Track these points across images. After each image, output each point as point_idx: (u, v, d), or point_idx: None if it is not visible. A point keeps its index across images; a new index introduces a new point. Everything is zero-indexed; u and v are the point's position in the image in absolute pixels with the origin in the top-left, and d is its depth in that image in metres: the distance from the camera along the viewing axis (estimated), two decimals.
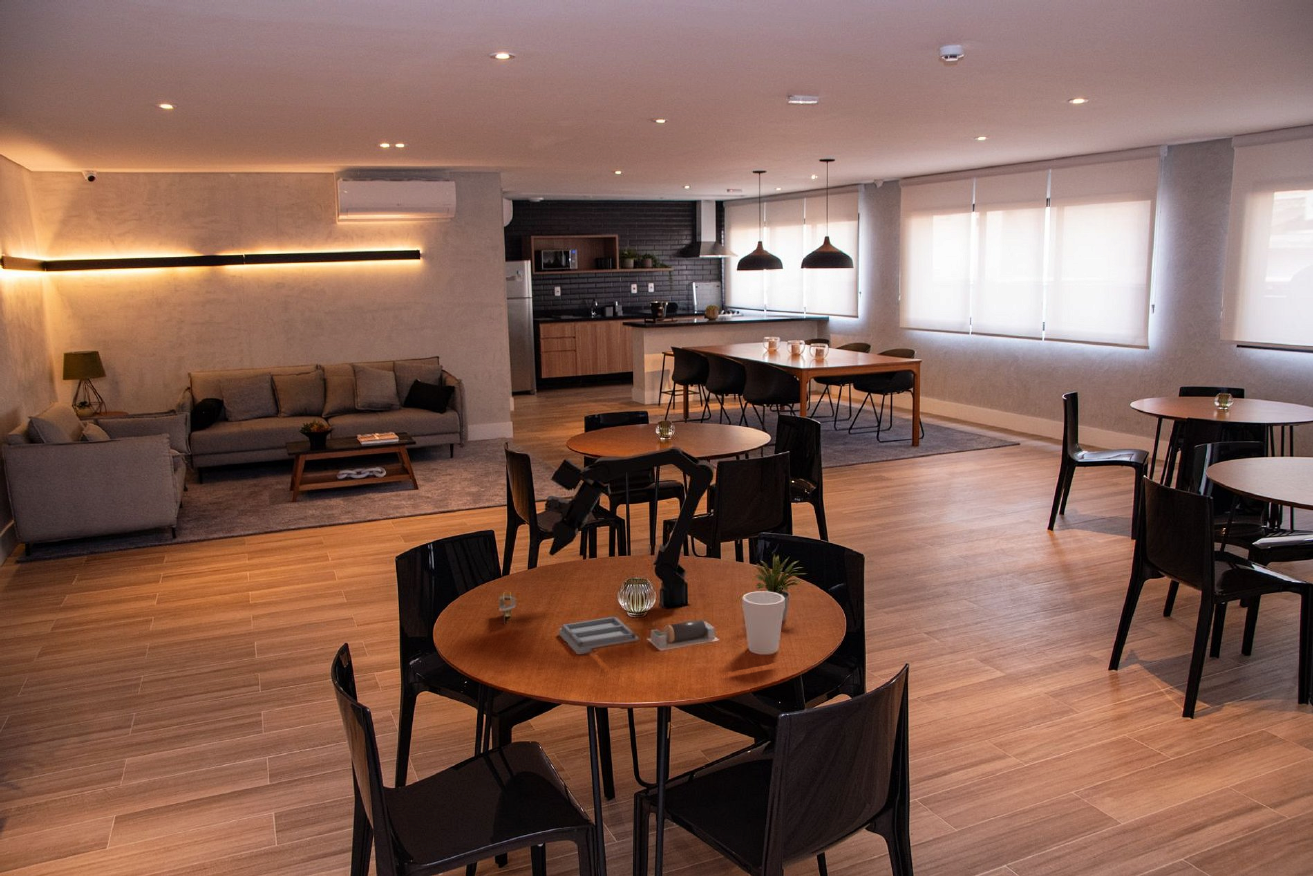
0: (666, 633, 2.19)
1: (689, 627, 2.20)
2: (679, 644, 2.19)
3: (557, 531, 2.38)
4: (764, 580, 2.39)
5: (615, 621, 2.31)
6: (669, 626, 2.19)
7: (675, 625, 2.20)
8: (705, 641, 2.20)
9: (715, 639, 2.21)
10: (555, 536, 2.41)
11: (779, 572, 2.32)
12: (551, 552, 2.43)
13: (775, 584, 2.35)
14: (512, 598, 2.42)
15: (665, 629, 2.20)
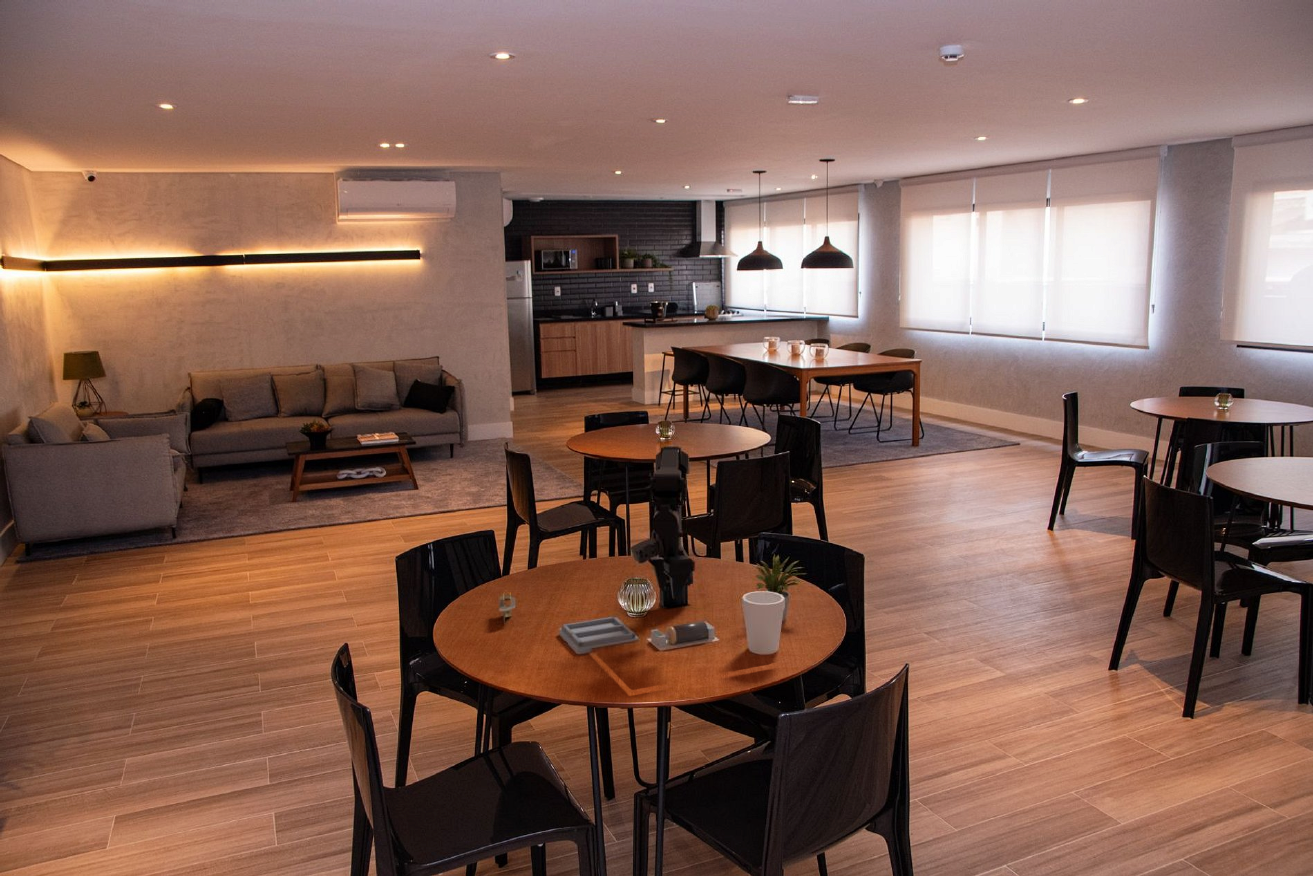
0: (668, 636, 2.18)
1: (692, 633, 2.19)
2: (679, 644, 2.19)
3: (676, 571, 2.10)
4: (764, 580, 2.39)
5: (615, 621, 2.31)
6: (672, 631, 2.18)
7: (679, 630, 2.18)
8: (705, 641, 2.20)
9: (715, 639, 2.21)
10: (672, 578, 2.13)
11: (779, 572, 2.32)
12: (675, 596, 2.15)
13: (775, 584, 2.35)
14: (512, 598, 2.42)
15: (668, 630, 2.19)
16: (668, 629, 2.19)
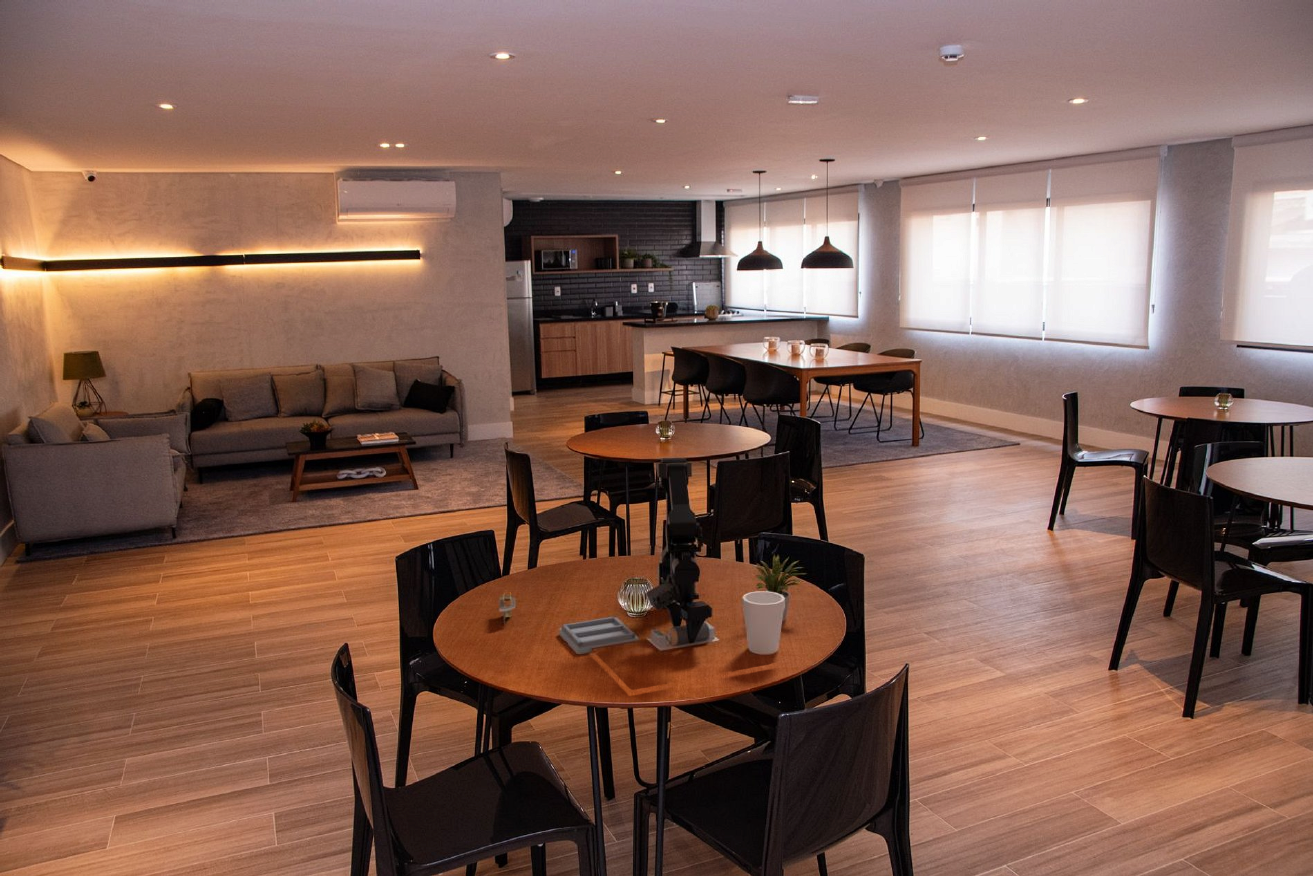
0: (669, 639, 2.17)
1: None
2: (679, 644, 2.19)
3: (695, 618, 2.12)
4: (764, 580, 2.39)
5: (615, 621, 2.31)
6: (675, 635, 2.17)
7: (681, 634, 2.17)
8: (705, 641, 2.20)
9: (715, 639, 2.21)
10: (689, 623, 2.15)
11: (779, 572, 2.32)
12: (691, 640, 2.17)
13: (775, 584, 2.35)
14: (512, 599, 2.41)
15: (670, 631, 2.18)
16: (670, 631, 2.18)
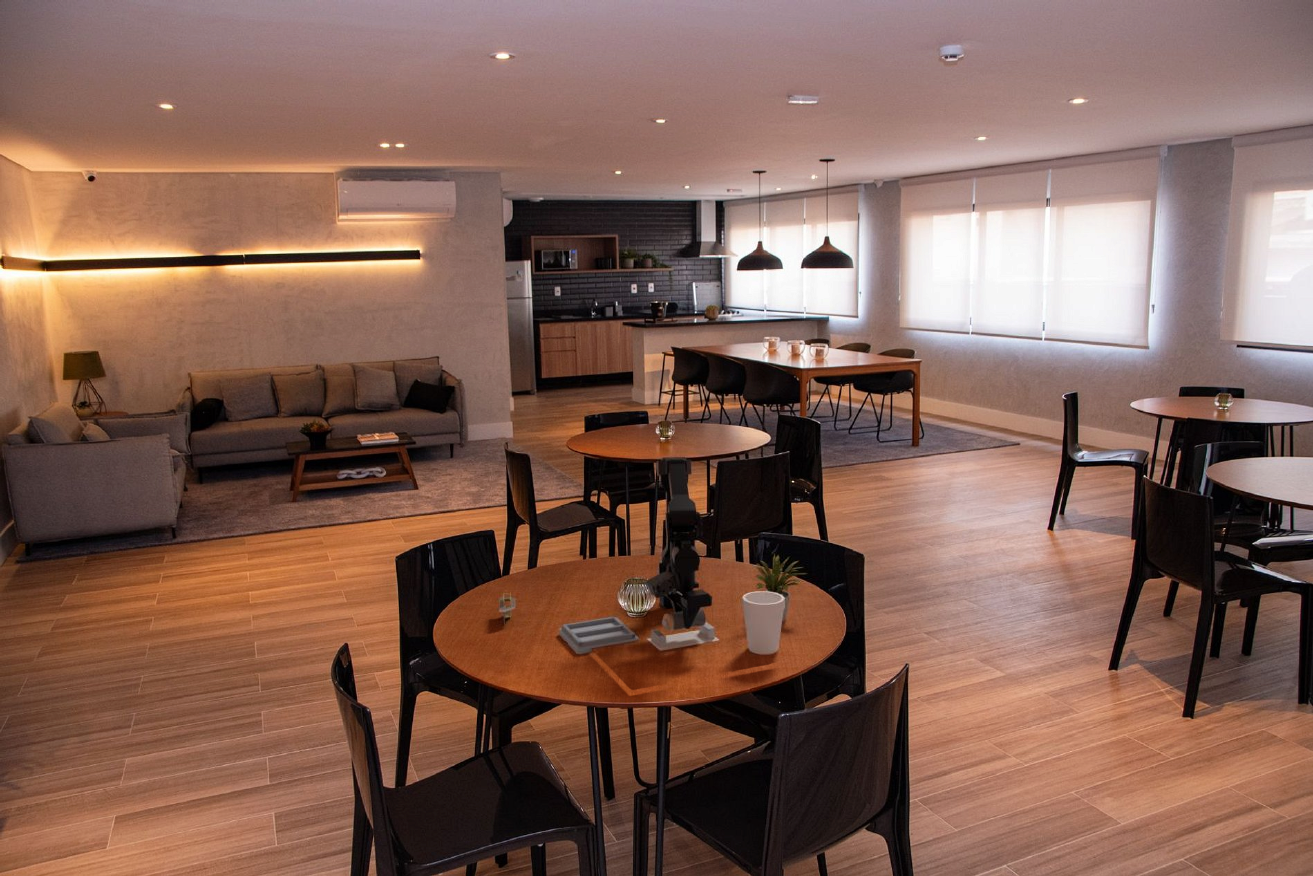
0: (665, 621, 2.19)
1: None
2: (679, 644, 2.19)
3: (694, 606, 2.11)
4: (764, 580, 2.39)
5: (615, 621, 2.31)
6: (668, 614, 2.19)
7: (674, 613, 2.20)
8: (705, 641, 2.20)
9: (715, 639, 2.21)
10: (685, 609, 2.16)
11: (779, 572, 2.32)
12: (687, 626, 2.19)
13: (775, 584, 2.35)
14: (512, 599, 2.41)
15: (664, 618, 2.20)
16: (664, 616, 2.20)
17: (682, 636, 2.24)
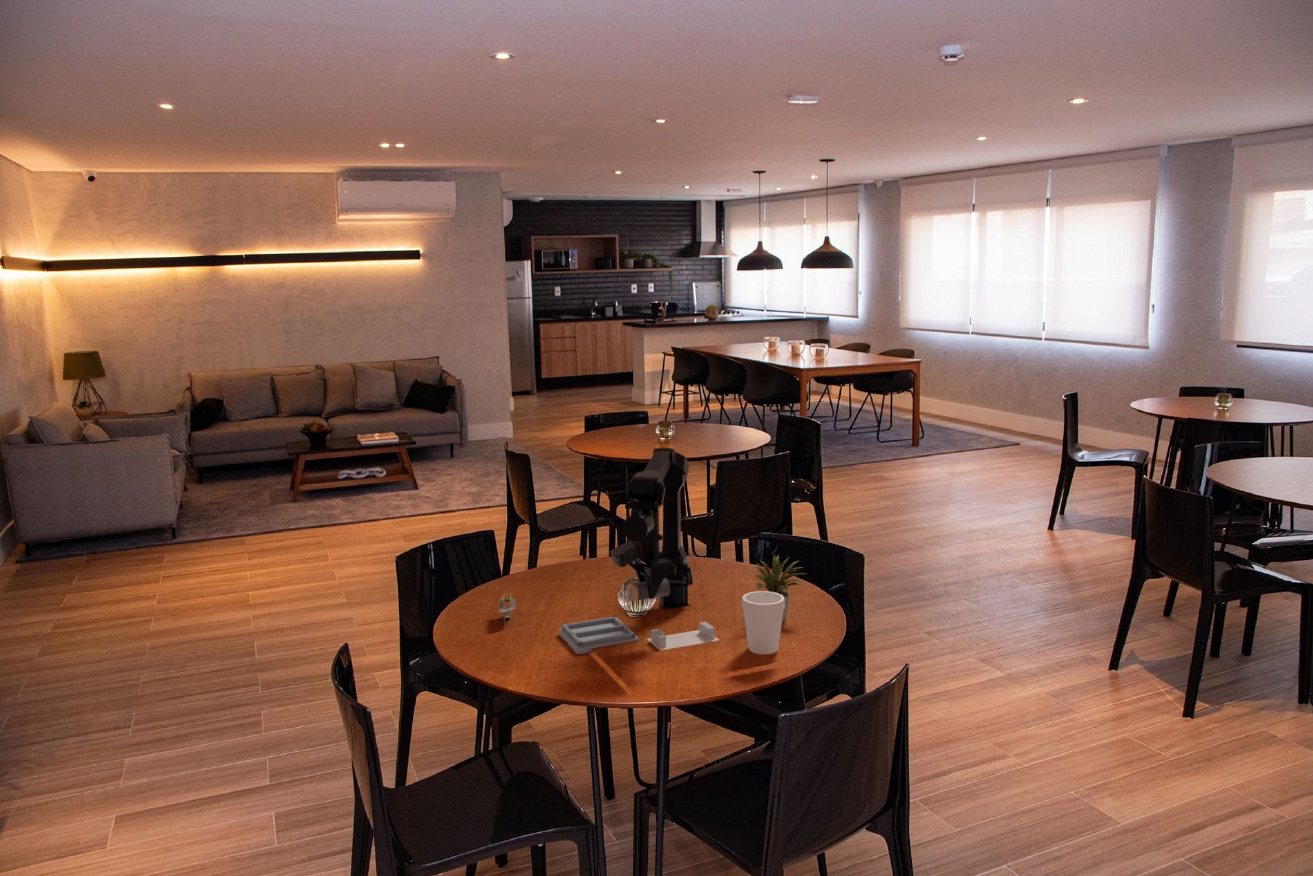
0: (630, 591, 2.18)
1: None
2: (679, 644, 2.19)
3: (658, 575, 2.10)
4: (764, 580, 2.39)
5: (615, 621, 2.31)
6: (632, 584, 2.18)
7: (638, 583, 2.19)
8: (705, 641, 2.20)
9: (715, 639, 2.21)
10: (649, 578, 2.15)
11: (779, 572, 2.32)
12: (652, 596, 2.18)
13: (775, 584, 2.35)
14: (512, 599, 2.41)
15: (629, 588, 2.19)
16: (629, 586, 2.19)
17: (682, 636, 2.24)
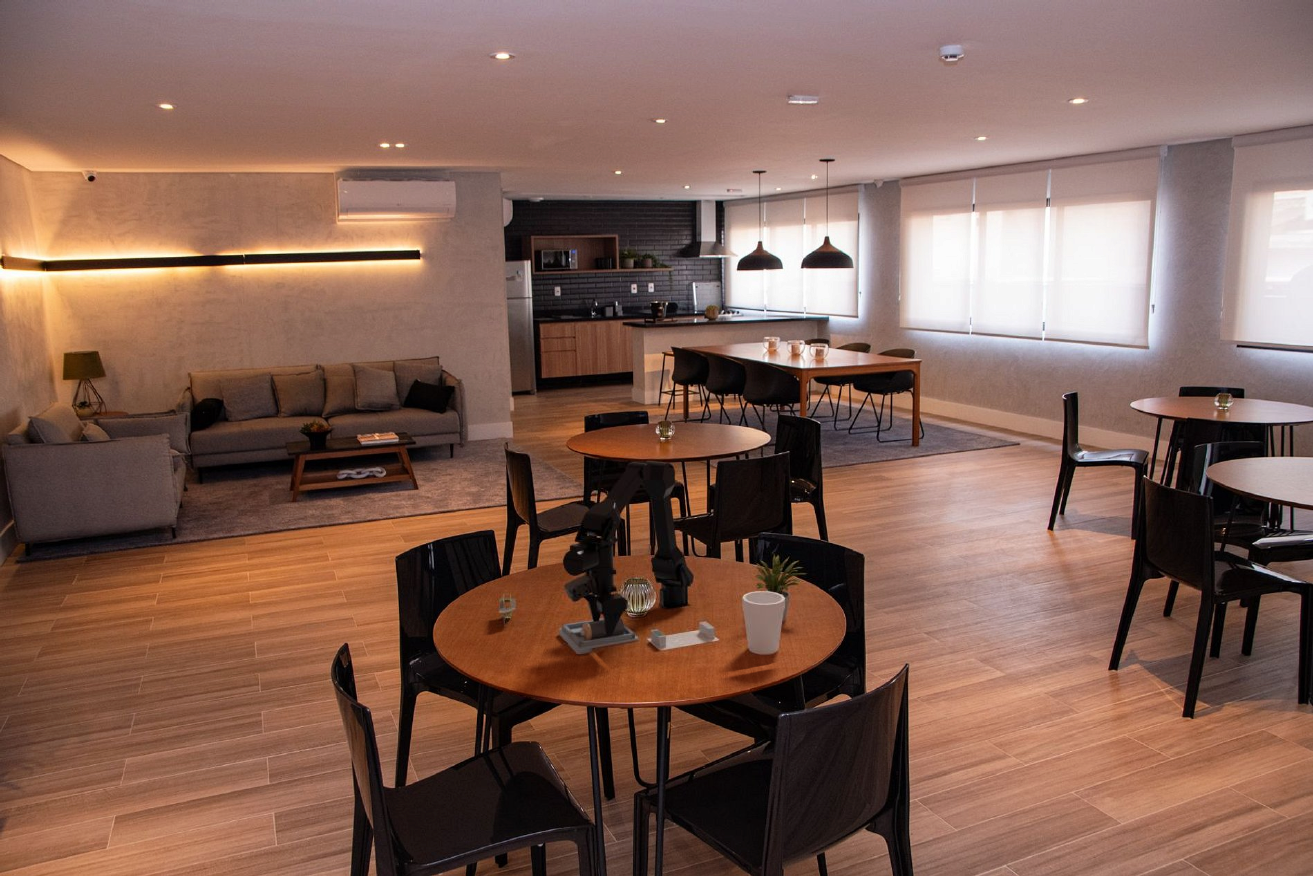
0: (583, 631, 2.20)
1: None
2: (679, 644, 2.19)
3: (609, 610, 2.12)
4: (764, 580, 2.39)
5: None
6: (586, 624, 2.20)
7: (592, 623, 2.21)
8: (705, 641, 2.20)
9: (715, 639, 2.21)
10: (606, 616, 2.15)
11: (779, 572, 2.32)
12: (609, 633, 2.17)
13: (775, 584, 2.35)
14: (512, 600, 2.40)
15: (583, 627, 2.21)
16: (583, 626, 2.21)
17: (682, 636, 2.24)
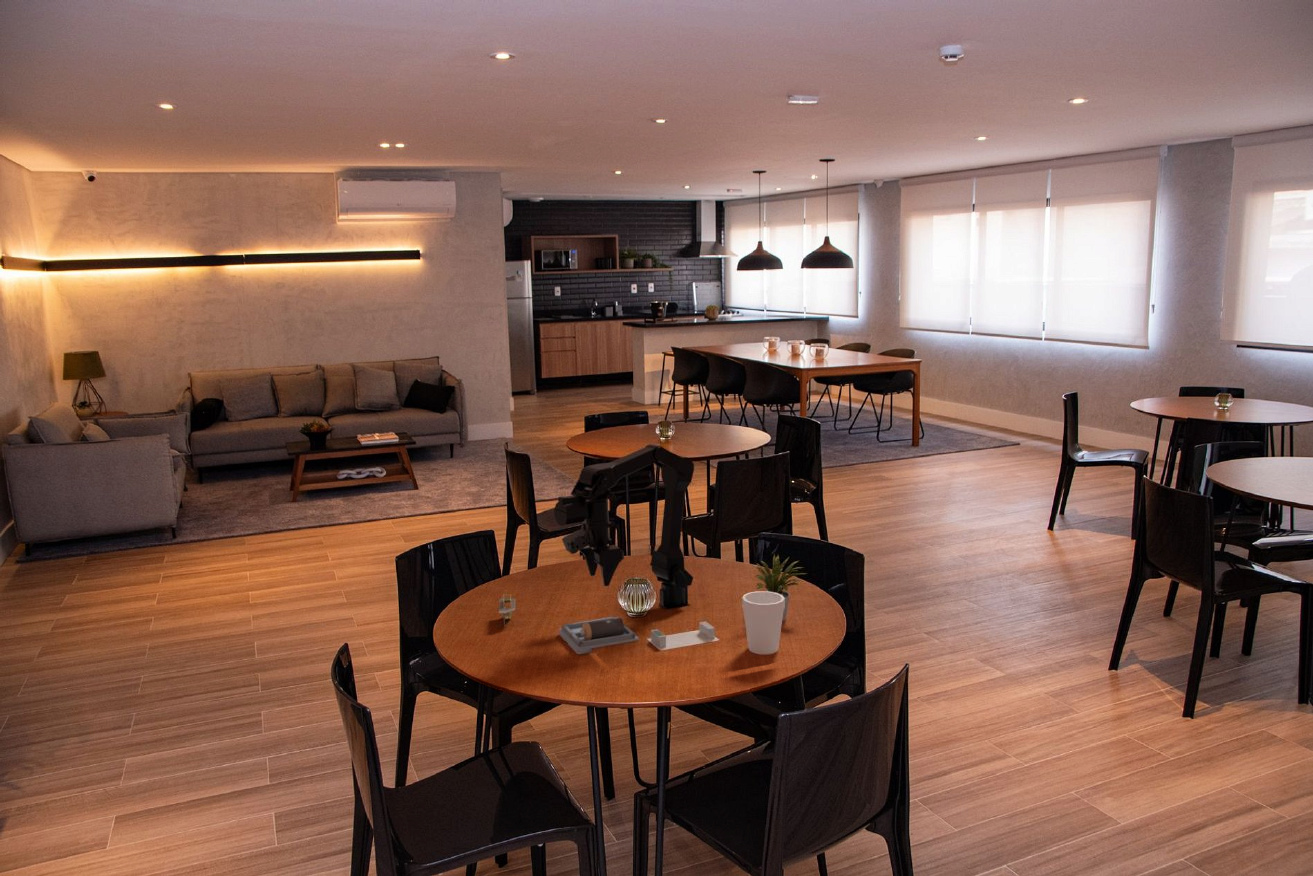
0: (583, 631, 2.20)
1: (607, 624, 2.21)
2: (679, 644, 2.19)
3: (607, 560, 2.22)
4: (764, 580, 2.39)
5: None
6: (586, 623, 2.20)
7: (592, 622, 2.21)
8: (705, 641, 2.20)
9: (715, 639, 2.21)
10: (603, 567, 2.25)
11: (779, 572, 2.32)
12: (606, 583, 2.28)
13: (775, 584, 2.35)
14: (512, 600, 2.40)
15: (583, 627, 2.21)
16: (583, 626, 2.21)
17: (682, 636, 2.24)
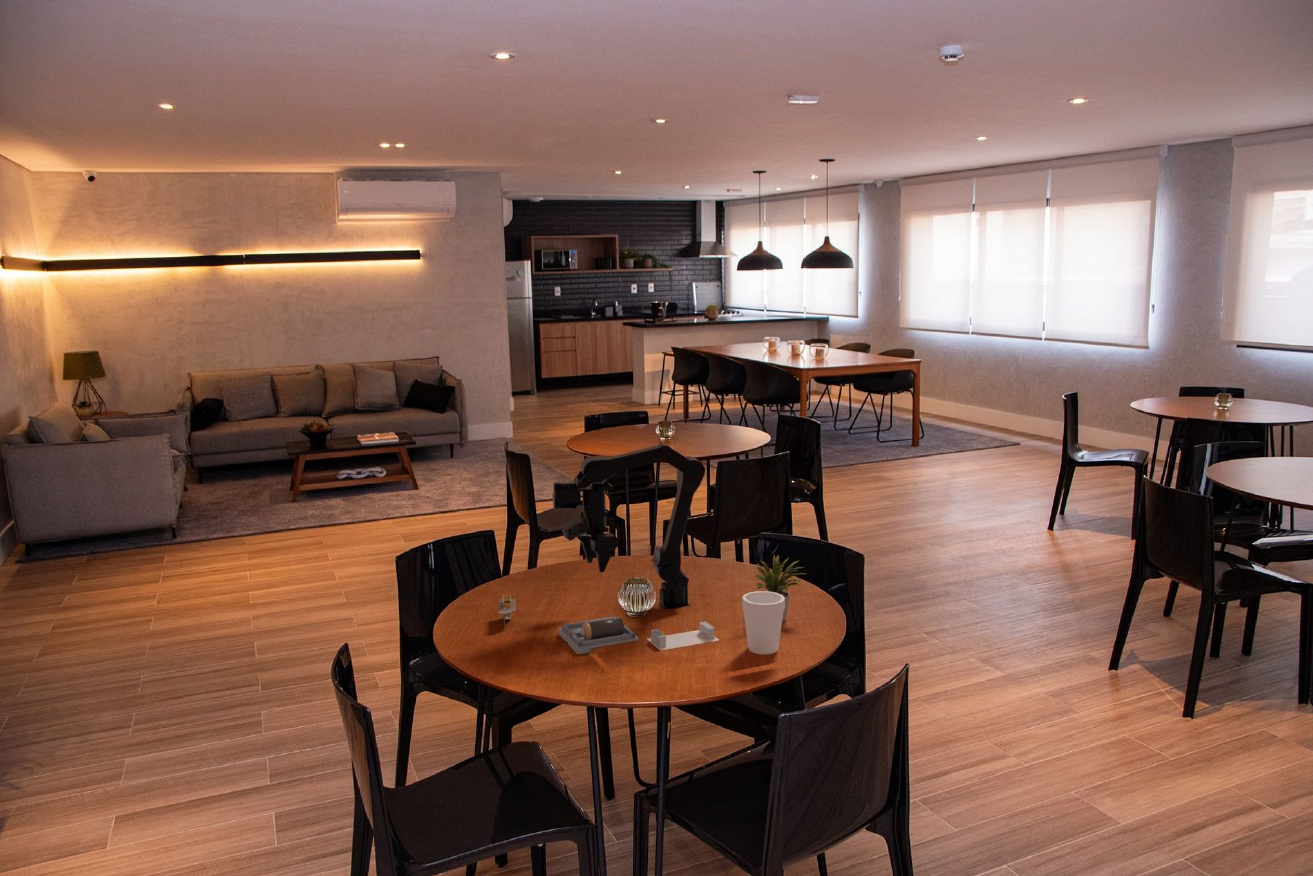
0: (583, 631, 2.20)
1: (607, 624, 2.21)
2: (679, 644, 2.19)
3: (602, 547, 2.32)
4: (764, 580, 2.39)
5: None
6: (586, 623, 2.20)
7: (592, 623, 2.21)
8: (705, 641, 2.20)
9: (715, 639, 2.21)
10: (598, 553, 2.35)
11: (779, 572, 2.32)
12: (601, 569, 2.38)
13: (775, 584, 2.35)
14: (512, 601, 2.40)
15: (583, 627, 2.21)
16: (583, 626, 2.21)
17: (682, 636, 2.24)
